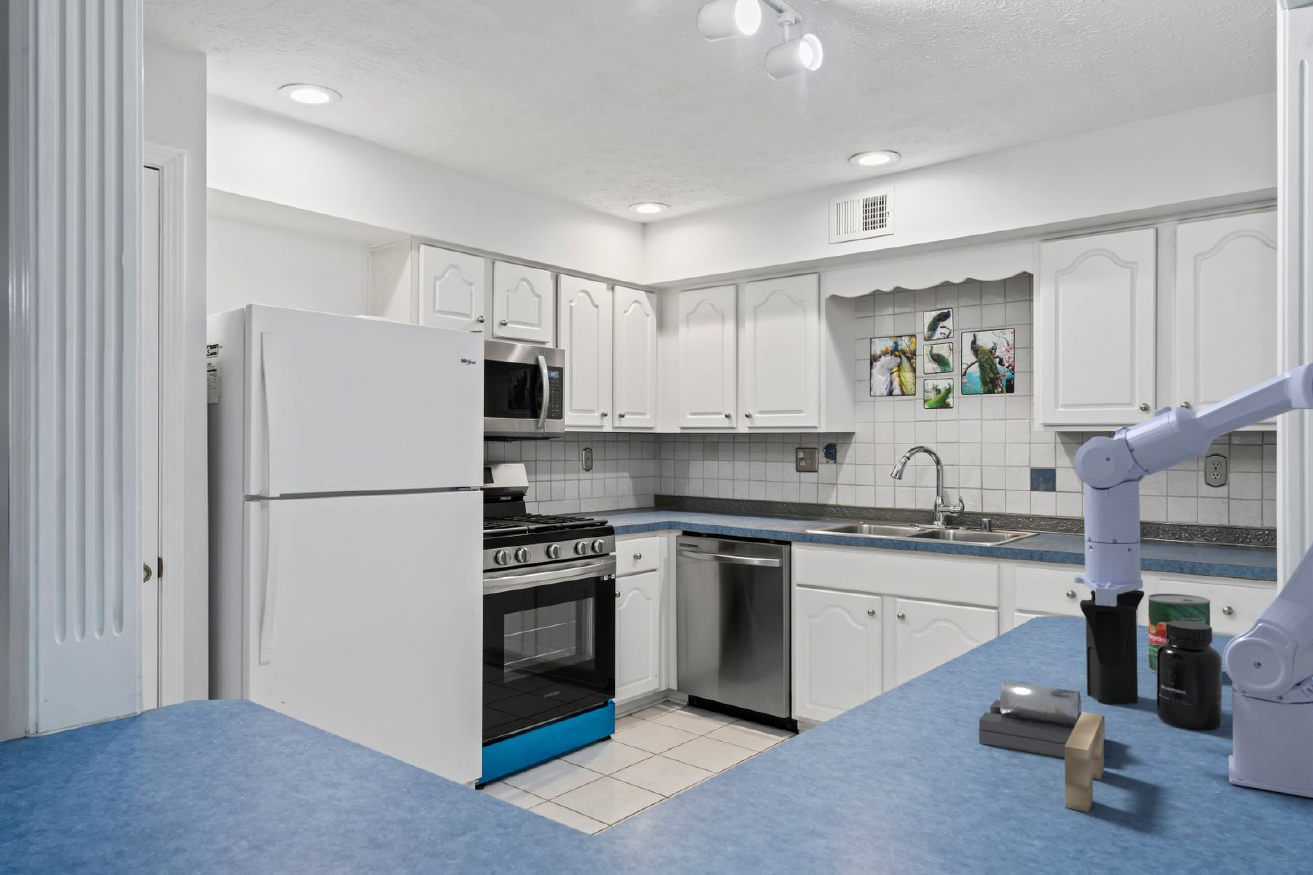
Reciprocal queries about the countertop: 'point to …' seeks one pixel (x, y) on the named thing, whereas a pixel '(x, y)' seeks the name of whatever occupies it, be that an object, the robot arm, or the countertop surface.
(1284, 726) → the robot arm
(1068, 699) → the silver metal cylinder
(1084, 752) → the beam
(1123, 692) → the candle
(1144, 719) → the countertop surface
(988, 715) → the v block
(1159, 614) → the canned tomato
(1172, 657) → the supplement bottle
